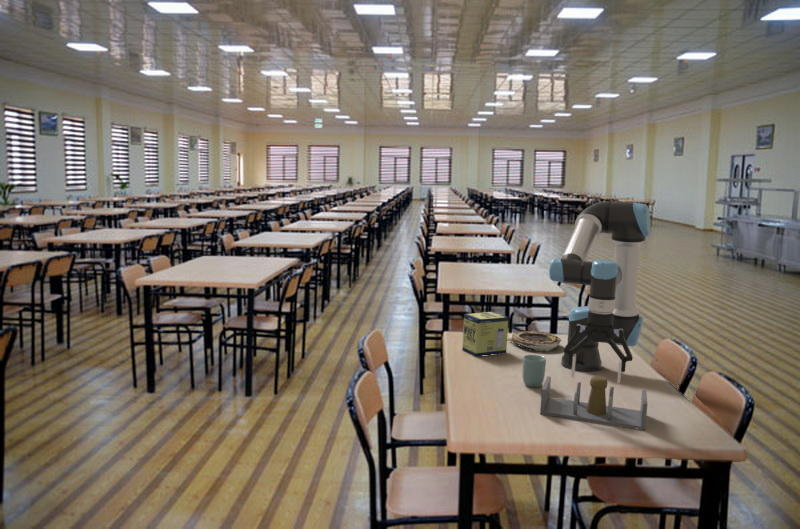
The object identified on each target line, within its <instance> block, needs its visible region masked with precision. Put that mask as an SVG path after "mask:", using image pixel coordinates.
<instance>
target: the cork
mask: <svg viewBox="0 0 800 529" xmlns="http://www.w3.org/2000/svg"><path fill="white" fill-rule="evenodd" d="M589 386H590V392H589V397H588V401H587V403H588V405H587V409H586V411H587V412H588V413H590V414H593V415H605V414H606V406H607V400H606V389H607V386H608V380H607V378H605V377H602V376H592V377H591V378H590V380H589Z"/></svg>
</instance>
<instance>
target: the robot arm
mask: <svg viewBox="0 0 800 529" xmlns="http://www.w3.org/2000/svg"><path fill="white" fill-rule="evenodd" d="M650 213H651V212H650V209H649V207H648V205H647V204H644V203H638V202H629V201H628V202H624V201H608V200H607V201H599V202H596V203H593V204H591V205H589V206H588V207H586V208H584V210H582V211H581V212H580V213H579V215H577V217H576V218H575V222H574V230H573V232H572V235H571V237H570V239H569V241H568V244H567V245H566V248H565V249H564V252H563V254H562V256H561V258H560V257H559V258H553V259H552V260H551V261H550V263H549V270H548V271H549V278H550V280H551V281H552V282H558V283H561V284H563V283H566V284H575V285H584V286H589V295H588V296H589V297H588V299H589V300H588V305H586V306H578V307H574V308H572V309H570V312H569V319H568V328H567V329H568V331H567V332H568V333H567V344H566V345H565V347H564V348H563V355H562V357H561V362H560V364H561V365H562V366H563V367H564V368H567V369H570V370H571V374H570V375H571V378H574V377H575V374H576V373H575V372H576V371H580V372H596V371H600V370H601V369H602V365H603V364H602V363H603V362H602V359H601V354H600V350H599V345H600V344H599V343H603V344H608V345H609V347H611V348H612V350H613V351H614V352H615V353H616V355H617V357H618V358H619V360H618V369H617V370H618V373H617V381H616V382H617V384H621V377H622V376H621V374H622V373H625V372H626V367H627V366H626V365H627V362H632V361H633V358H634V357H633V354H632V353H631V350H630V348H629V347H636V346H637V344H638V342H639V338H640V335H641V333H642V332H641V331H642V327H643V323H644V317H643V316H641V315H640V310H639V309H638V308H637V307H636V304H637V294H638V293H637V292H638V280H639V279H638V278H639V277H638V276H639V265H640V264H639V263H640V252H641V245H642V244H643V243H645V241H646V238H648V237H650V235H651V225H652V224H651V214H650ZM600 234H609V235H611V241H613V243H614V247H615V248H614V260H613V261H612V260H608V259H607V260H605V259H599V260H598V259H597V260H594V261H588V260H587V258H588V256H589V253H590V250H591V248H592V247H593V244H594V241H595V238H596V237H598V236H599V235H600ZM586 260H587V261H586ZM619 346H622V348H623V351H624V352H625V354H624V353H623V352H622V350H621V349H620V348H619Z"/></svg>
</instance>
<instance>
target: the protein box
mask: <svg viewBox="0 0 800 529" xmlns="http://www.w3.org/2000/svg"><path fill="white" fill-rule="evenodd" d="M462 327H463V329H462V330H463V332H462V350H461V351H463V350H464V351H463V352H465V351H466V352H465V353H467V352H468V353H467V354H469V353H470V355H471V354H472V355H471V356H473V355H474V356H473V357H475V356H479V357H483V356H482V355H488V356H492V355H491V354H497V355H503V354H502V353H505V354H507V347H508V346H507V345H508V343H507V339H508V330H509V317H508V316H506V315H504V314H501V313H498V312H496V311H487V312H486V311H484V312H476V313H463V326H462ZM499 353H500V354H499Z"/></svg>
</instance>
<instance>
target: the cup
mask: <svg viewBox="0 0 800 529" xmlns="http://www.w3.org/2000/svg"><path fill="white" fill-rule="evenodd" d="M546 363H547V359H546V357H544V356H542V355H539V354H538V355H537V354H526V355H523V358H522V374H521V375H522V381H523V384H525V385H526V386H527V387H530V388H539V387H540V386H542V384H543V383H544V382H545V381H544V380H545V377H546V365H547V364H546Z"/></svg>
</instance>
